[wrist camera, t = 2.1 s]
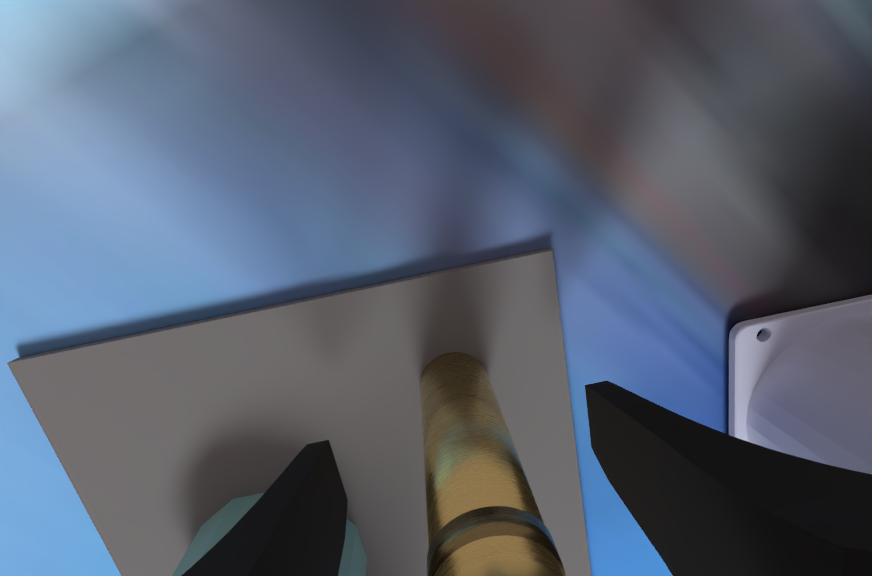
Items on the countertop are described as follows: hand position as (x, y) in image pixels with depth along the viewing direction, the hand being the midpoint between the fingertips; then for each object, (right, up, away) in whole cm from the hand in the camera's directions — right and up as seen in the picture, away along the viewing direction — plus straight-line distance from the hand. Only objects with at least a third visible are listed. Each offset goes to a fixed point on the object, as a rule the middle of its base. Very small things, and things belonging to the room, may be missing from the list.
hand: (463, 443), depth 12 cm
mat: (-4, -4, +5) cm, 7 cm away
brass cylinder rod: (0, +1, +3) cm, 3 cm away
